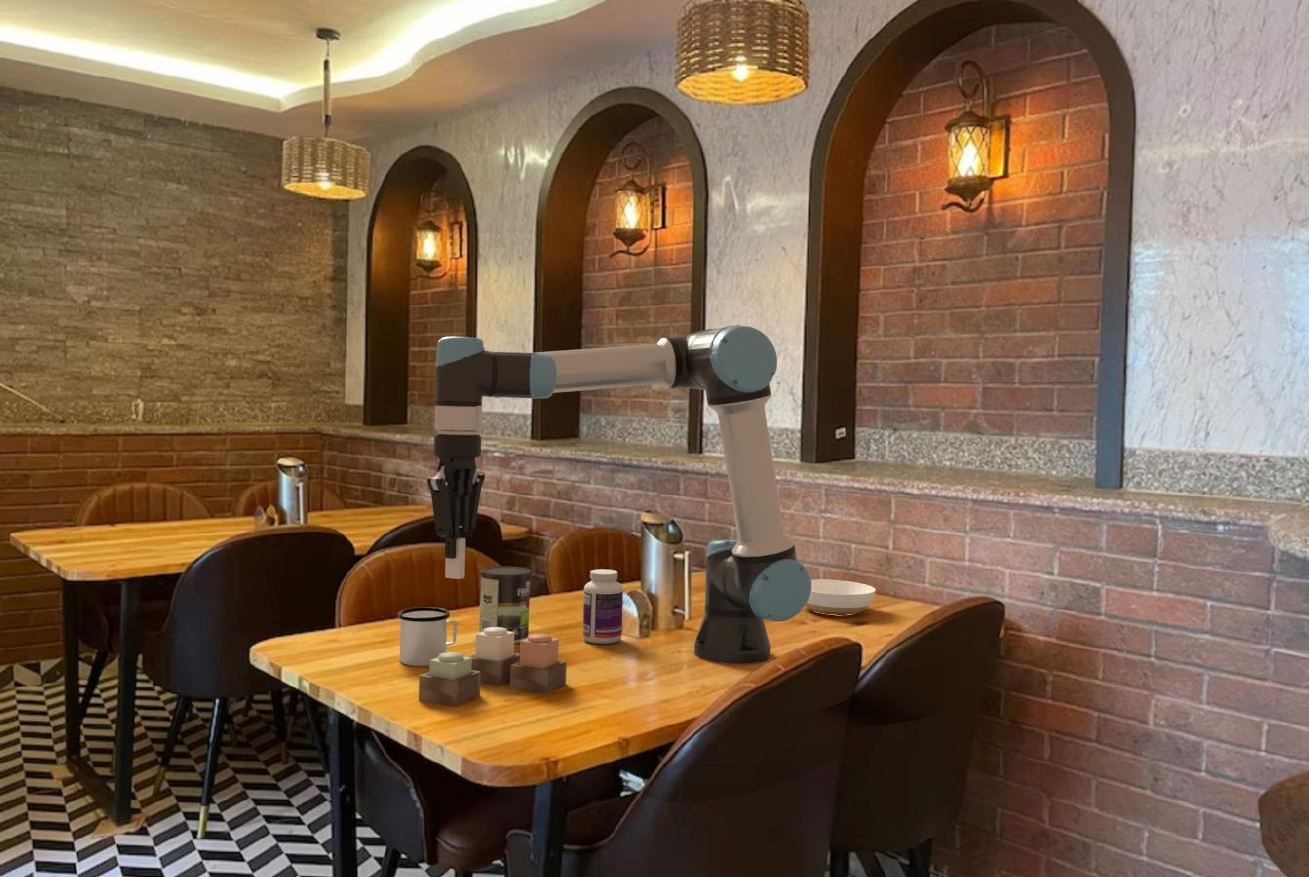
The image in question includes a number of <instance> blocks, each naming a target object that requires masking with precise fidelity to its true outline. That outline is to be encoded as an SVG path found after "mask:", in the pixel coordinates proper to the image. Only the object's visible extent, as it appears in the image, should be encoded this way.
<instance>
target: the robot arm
mask: <svg viewBox="0 0 1309 877" xmlns="http://www.w3.org/2000/svg"><path fill="white" fill-rule="evenodd" d="M777 357H778V356H777V352H776V348H775V346H774V344H773V343H772V341H771V339H770V338H769V337H768V336H767V335H766V334H765V333H763V332H762V331H761V330H760V329H757V328H755V327H752V326H749V325H739V324H736V325H728V326H725V327H724V326H723V327H719V328H718V327H717V328H709V329H704V330H700V331H696V332H693V333H688V334H685V335H680V336H674V337H663V338H660V339H659V340H658V341H657V342H656V343H655V344H654V343H652V344H637V345H636V344H635V345H625V346H621V345H620V346H609V347H596V348H595V347H594V348H582V349H581V348H580V349H568V350H553V351H552V350H551V351H541V352H540V351H539V352H535V351H534V352H515V351H514V352H513V351H492V350H491V351H490V350H487V349H485V347H484V340H482V339H481V338H479V337H469V336H444V337H442V338H440V339H439V340H438V341H437V344H436V355H435V364H434V370H435V373H434V374H435V378H434V379H435V380H434V385H435V386H434V400H435V401H434V405H435V407H434V430H435V431H438V433H436V434H435V435H434V436H433V456H434V457H436V458H438V459H439V460H438V464H437V467H436V472H437V473H436V474H435V476H433V477H430V476H429V477H427V479H426V483H427V486H428V488H429V491H430V496H431V504H432V512H433V521H434V527H435V534H436V535H437V536H438V537H439V538H443V539H444V557H445V558H444V559H445V565H444V566H445V567H444V568H445V570H444V574H445V577H444V578H447V579H457V580H460V579H461V580H462V579H464V578H465V571H466V570H465V566H466V564H465V563H466V556H465V555H466V550H467V549H466V548H467V547H466V546H467V544H466V543H467V541H466V540H467V538H472V537H473V532H474V531H475V529H476V524H477V518H478V517H477V516H478V512H479V505H480V500H481V499H480V498H481V492H482V487H483V485H484V482H485V478H486V475H485V474H484V473H480V472H478V471H477V463H476V459H475V458H480V456H481V455H482V436H481V435H480V434H479V432H481V431H482V430H483V397H488V398H496V399H500V398H513V399H531V400H536V399H548V398H550V397H552V395H553V394H554V393H556V394H557V393H564V392H565V393H566V392H567V393H568V392H579V391H591V390H604V389H617V388H628V387H639V386H653V385H660V386H661V387H662V388H664V389H693V390H702V391H705V396H706V402H707V407H709V408H710V409H711V410H713V411H714V412H716V414H717V417H718V424H719V428H720V437H721V442H722V447H723V453H724V454H723V455H724V459H725V467H726V473H727V479H728V485H729V486H728V487H729V491H730V496H731V497H730V498H731V502H732V510H733V516H734V521H735V528H736V534H737V539H717V540H716V539H715V540H711V541H710V542H709V543H708V545H707V548H706V550H707V551H706V556H705V586H704V587H705V588H704V589H705V592H704V614H703V617H702V620H701V623H700V626H699V629H698V631H697V633H696V636H695V639H694V646H693V648H694V649H693V652H694V655H695V656H697V657H698V658H700V659H704V660H707V661H710V662H714V663H721V664H728V665H729V664H731V665H750V664H759V663H764V662H767V661H768V660H769V659H770V658H771V651H772V650H771V649H772V648H771V642H770V638H769V635H768V632H767V628H766V624H765V621H766V620H767V621H768V620H769V621H771V622H775V623H777V622H786V621H788V620H791V619H793V618H795V617H796V616H797V615H799V613H801V612H802V610H803V609H804V607H805V606H804V605H805V604H806V603H807V602H808V599H809V597H810V593H811V580H812V579H811V576H810V574H809V573H810V572H809V571H808V570H807V568H806V567H805V566H804V565H803V564H802V563H800V562H799V561H798V558H797V552H796V545H795V541H794V540H793V539H792V538H791V537H790V536H789V535H786V533H785V531H784V523H783V516H782V511H781V503H780V497H779V492H778V484H777V479H776V473H775V472H776V471H775V465H774V457H773V452H772V451H773V450H772V446H771V440H770V439H771V438H770V432H769V427H768V420H767V414H766V409H765V408H766V404H767V403H768V401H769V400H770V399H771V398H772V390H771V385H770V384H771V382H772V381H773V377H774V375H775V374H776V371H777V367H778V358H777Z"/></svg>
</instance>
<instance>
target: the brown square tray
mask: <svg viewBox="0 0 1309 877" xmlns="http://www.w3.org/2000/svg"><path fill="white" fill-rule="evenodd" d="M480 677H481V672H480V671H474V670H471V674H469V675H466V676H464V677H461V678H459V679H457V680H450V679H444V678H439V677H433V676H429V671H428V672H425V673H422V674H420V675H419V681H418V684H419V686H418V701H421V702H428V703H433V704H439V705H441V706H442V705H443V706H448V707H453V708H456V707H458V706H460V705H462V704H464V703H468V702H469V701H471V700H473V699H475V698H477V697H480V696H481V683H480Z"/></svg>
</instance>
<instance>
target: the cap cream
mask: <svg viewBox="0 0 1309 877" xmlns="http://www.w3.org/2000/svg"><path fill="white" fill-rule="evenodd" d="M474 652H475V653H474V654H475V658H480V659H486V660H492V661H498V662H500V661H502V660H505V659H507V658H509V657H512V656H514V653H515V644H514V632H510V631H507V629H505V628H501V627H490V628H485V629H484V632H481V633H479V632H478V633H475V651H474Z"/></svg>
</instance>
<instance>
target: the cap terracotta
mask: <svg viewBox="0 0 1309 877" xmlns="http://www.w3.org/2000/svg"><path fill="white" fill-rule="evenodd" d="M559 641H560V639H559V638H556V637H555V638H554V637H552V635H550V634H548V633H547V634H546V633H534V634H529V635H528V638H527V639H524V640H522V641H520V643H519V654H520V665H522V666H528V667H534V668H540V669H547V668H549V667H551V666H553V665H555V664H557V663H558V660H559V646H560V644H559V643H560V642H559Z"/></svg>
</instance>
